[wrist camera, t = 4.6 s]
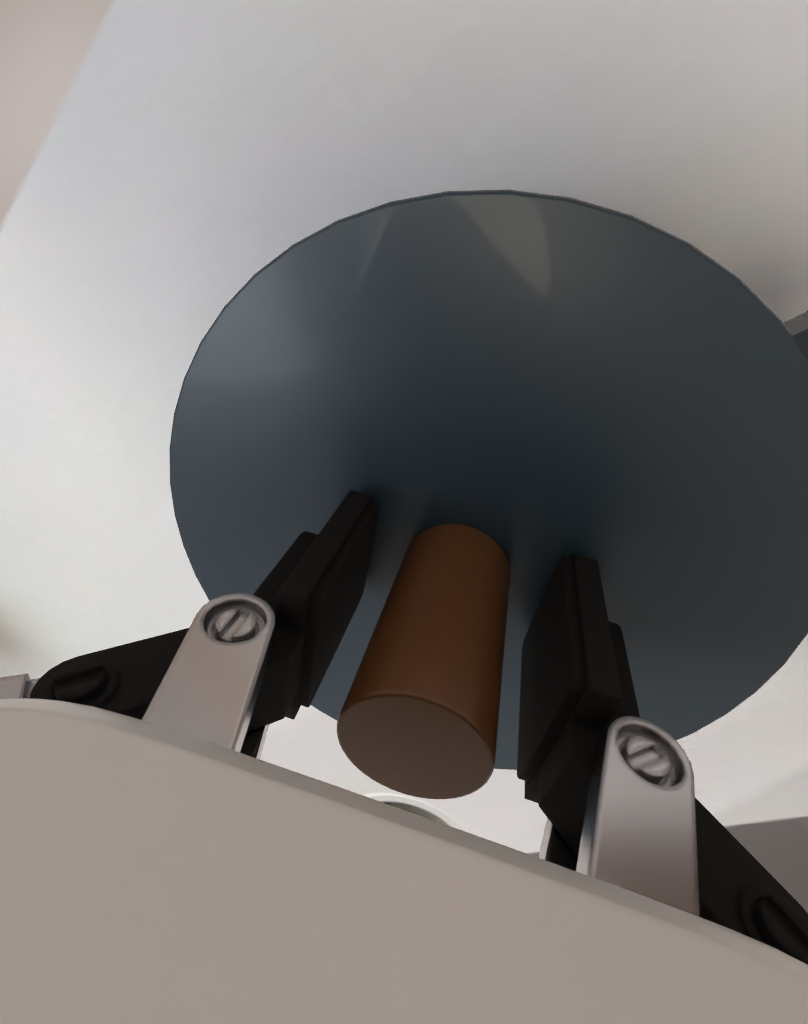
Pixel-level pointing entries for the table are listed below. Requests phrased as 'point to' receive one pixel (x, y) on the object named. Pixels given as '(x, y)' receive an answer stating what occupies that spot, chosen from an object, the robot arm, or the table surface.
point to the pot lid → (505, 462)
